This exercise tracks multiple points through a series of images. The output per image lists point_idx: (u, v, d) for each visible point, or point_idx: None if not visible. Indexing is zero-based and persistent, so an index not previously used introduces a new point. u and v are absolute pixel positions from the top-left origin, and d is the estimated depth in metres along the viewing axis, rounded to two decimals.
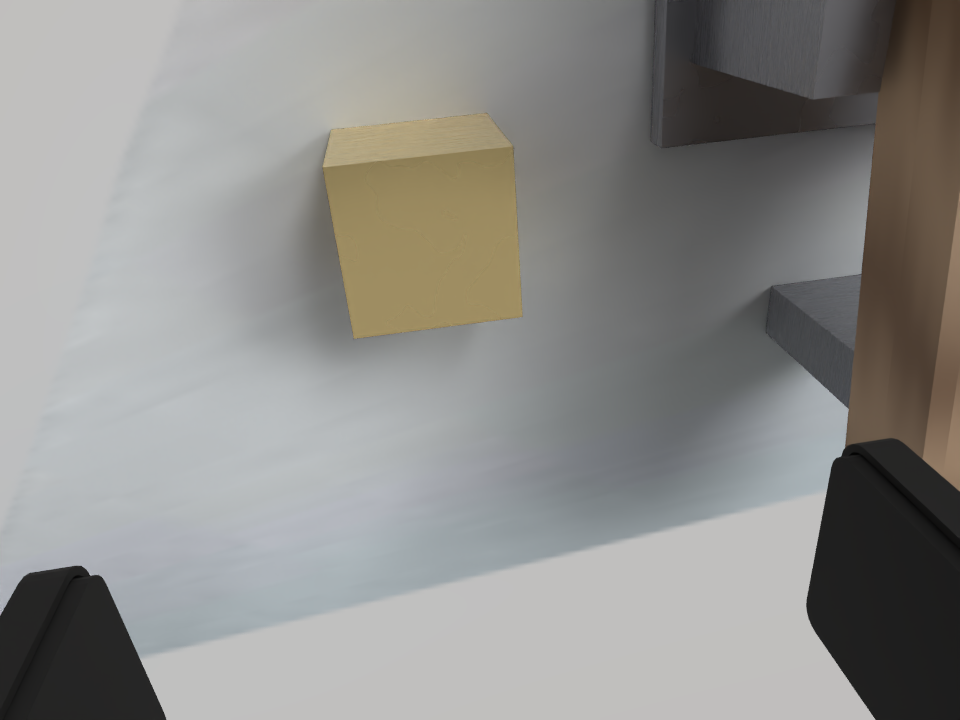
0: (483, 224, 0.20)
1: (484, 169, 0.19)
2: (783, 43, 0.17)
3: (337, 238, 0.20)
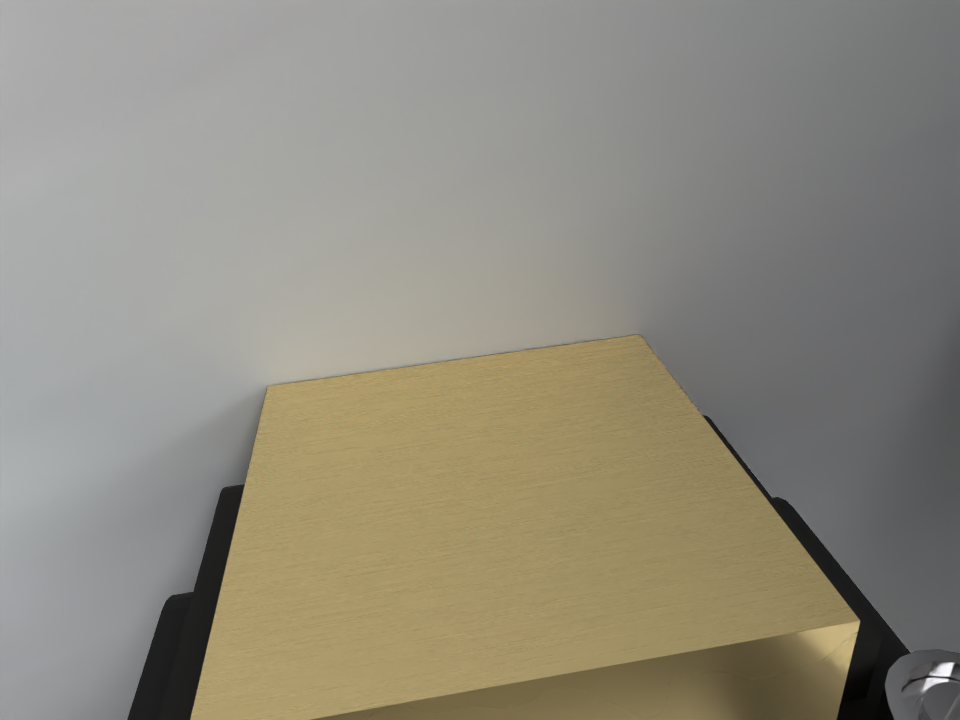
0: None
1: (751, 687, 0.06)
2: None
3: None
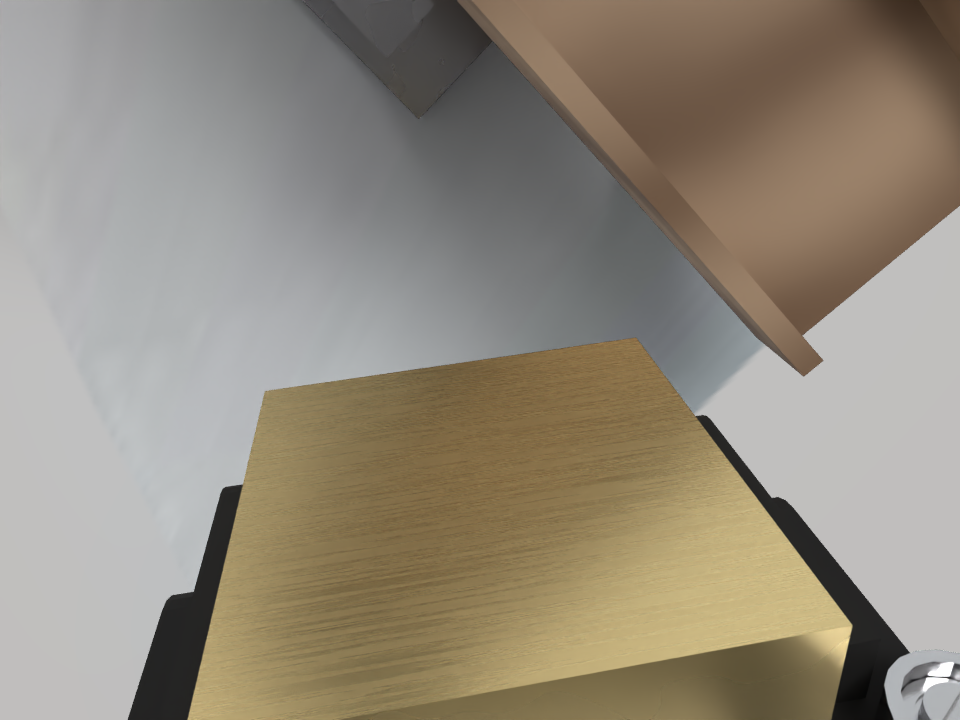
0: None
1: (744, 691, 0.06)
2: None
3: None
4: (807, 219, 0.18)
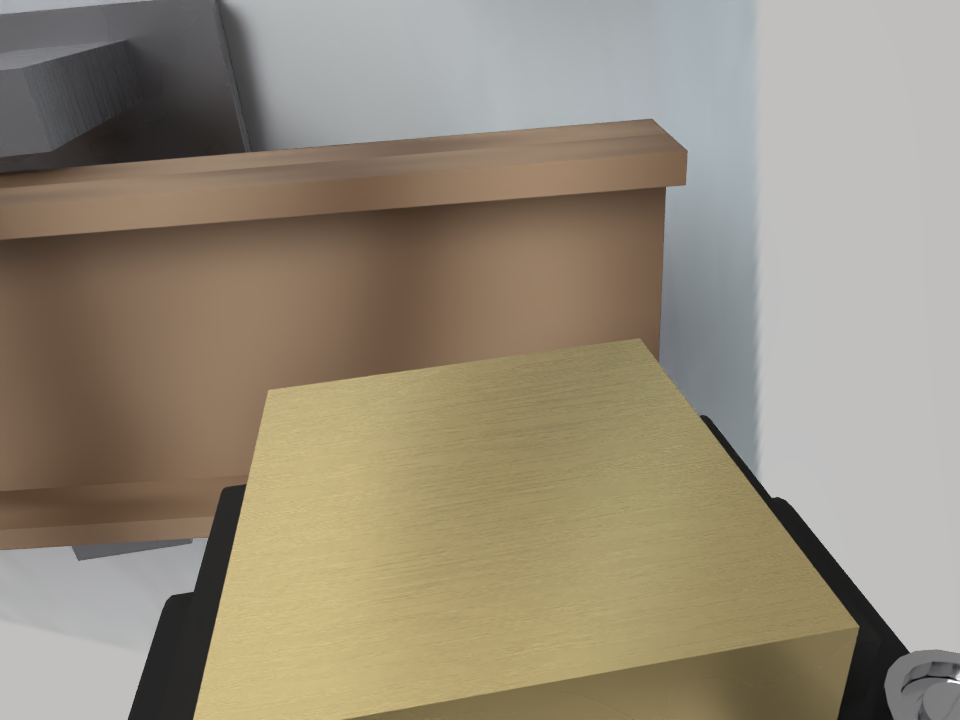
0: None
1: (751, 692, 0.06)
2: None
3: None
4: None
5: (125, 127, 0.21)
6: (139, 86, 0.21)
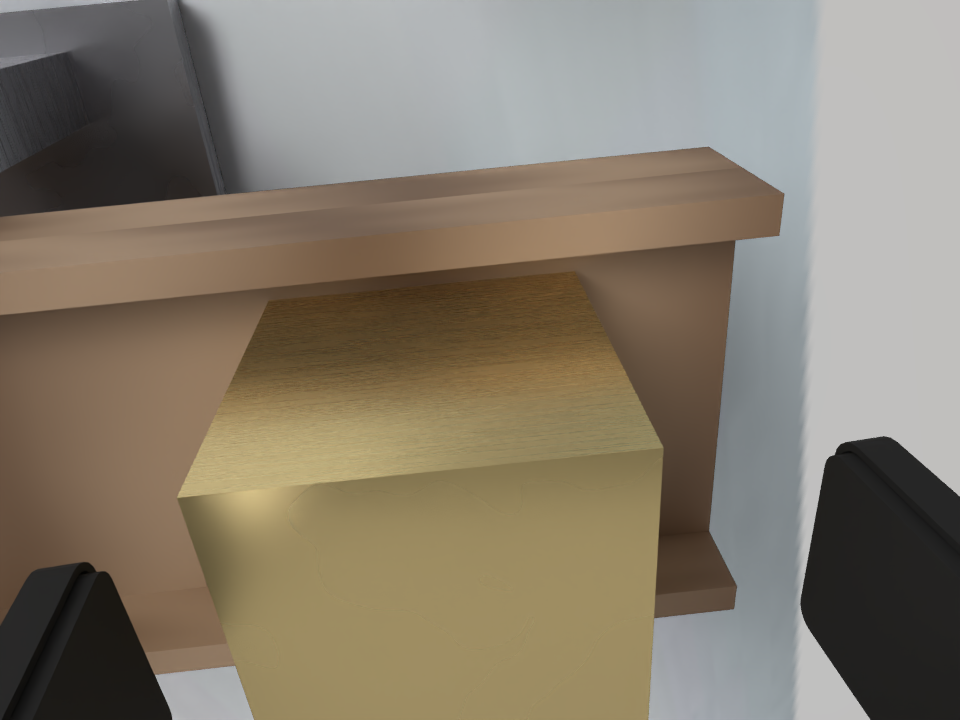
0: (574, 598, 0.08)
1: (586, 497, 0.08)
2: None
3: (228, 628, 0.08)
4: None
5: (69, 156, 0.18)
6: (84, 107, 0.17)
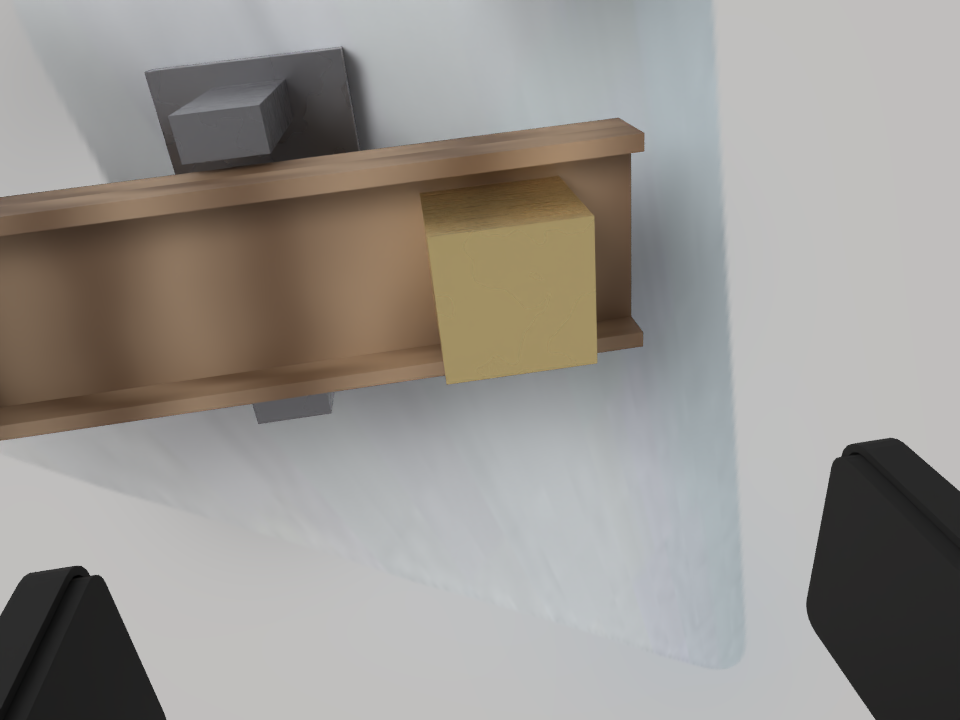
0: (565, 282, 0.22)
1: (568, 237, 0.22)
2: None
3: (436, 297, 0.22)
4: None
5: (280, 137, 0.31)
6: (291, 109, 0.31)
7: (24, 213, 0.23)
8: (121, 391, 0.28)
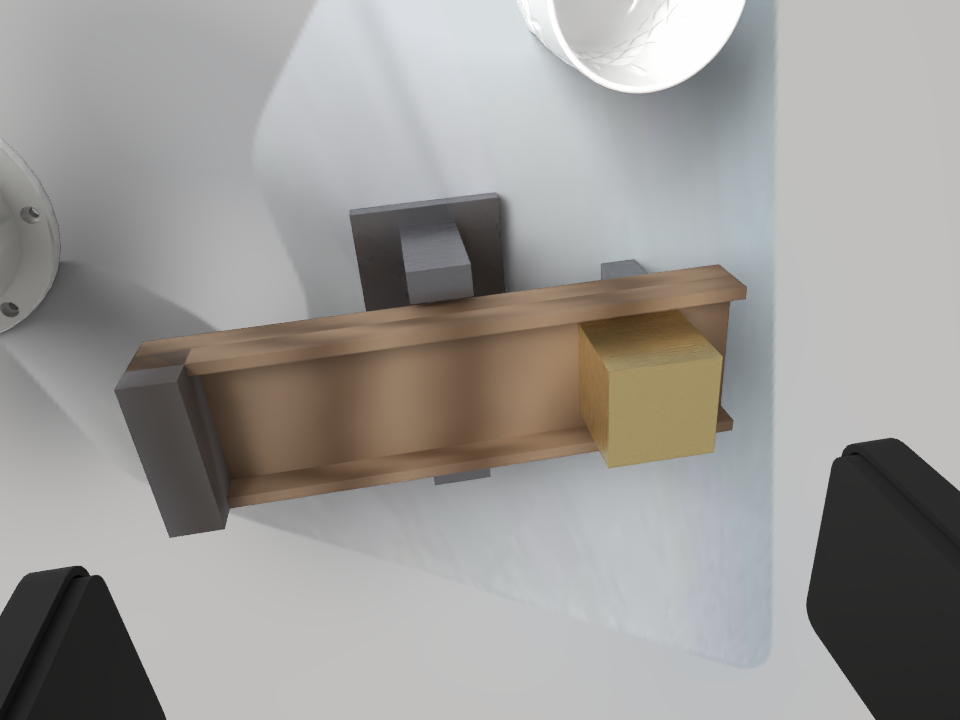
0: (698, 400, 0.32)
1: (703, 370, 0.31)
2: None
3: (609, 411, 0.32)
4: None
5: None
6: None
7: (309, 346, 0.32)
8: (343, 464, 0.36)
